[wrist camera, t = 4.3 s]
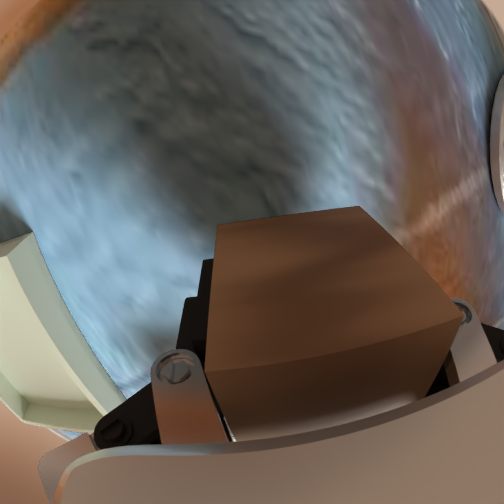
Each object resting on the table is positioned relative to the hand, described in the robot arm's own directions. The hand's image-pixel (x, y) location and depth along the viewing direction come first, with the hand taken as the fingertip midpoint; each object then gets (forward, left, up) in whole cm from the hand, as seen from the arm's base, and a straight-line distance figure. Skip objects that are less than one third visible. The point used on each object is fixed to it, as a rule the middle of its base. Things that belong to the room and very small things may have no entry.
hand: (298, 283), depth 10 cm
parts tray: (+18, +4, -3) cm, 19 cm away
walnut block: (0, 0, -1) cm, 1 cm away
